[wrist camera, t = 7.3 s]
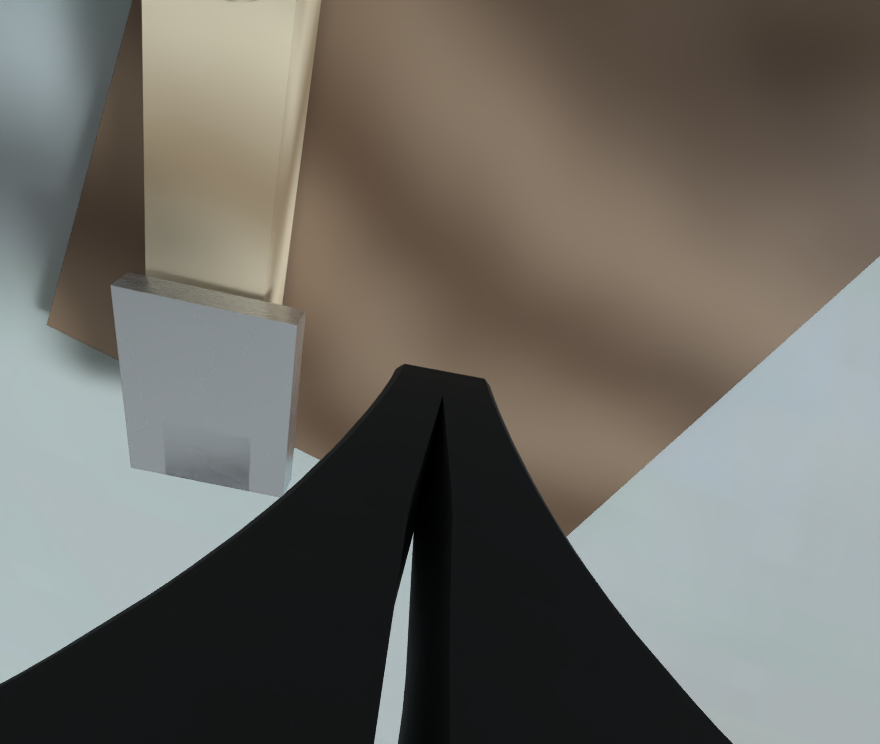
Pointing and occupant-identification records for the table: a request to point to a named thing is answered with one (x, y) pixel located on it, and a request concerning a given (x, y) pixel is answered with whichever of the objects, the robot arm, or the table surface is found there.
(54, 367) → the table surface
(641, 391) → the walnut board
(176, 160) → the pivot link
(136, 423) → the keeper
